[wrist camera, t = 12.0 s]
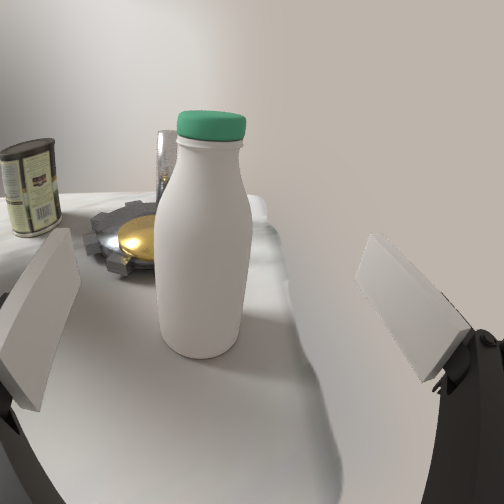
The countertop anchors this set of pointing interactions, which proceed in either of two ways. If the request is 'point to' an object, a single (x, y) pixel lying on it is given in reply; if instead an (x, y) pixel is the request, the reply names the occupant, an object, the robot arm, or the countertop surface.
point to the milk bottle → (203, 237)
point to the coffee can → (31, 187)
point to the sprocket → (133, 220)
